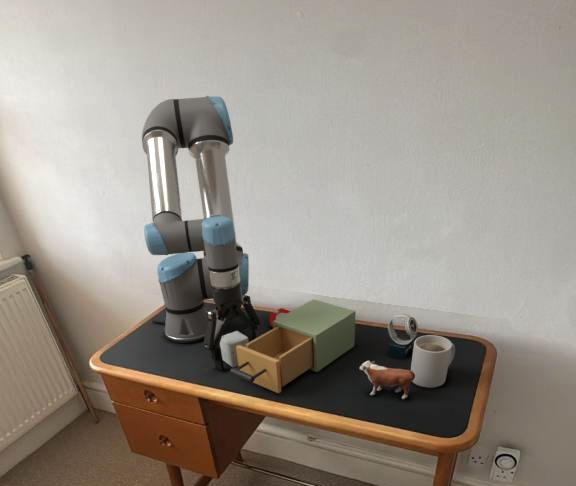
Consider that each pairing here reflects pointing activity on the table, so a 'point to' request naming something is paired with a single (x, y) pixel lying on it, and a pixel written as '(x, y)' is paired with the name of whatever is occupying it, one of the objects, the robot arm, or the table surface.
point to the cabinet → (322, 329)
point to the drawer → (275, 358)
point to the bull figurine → (388, 377)
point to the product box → (232, 347)
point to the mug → (431, 360)
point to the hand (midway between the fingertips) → (236, 359)
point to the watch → (402, 345)
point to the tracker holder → (277, 315)
